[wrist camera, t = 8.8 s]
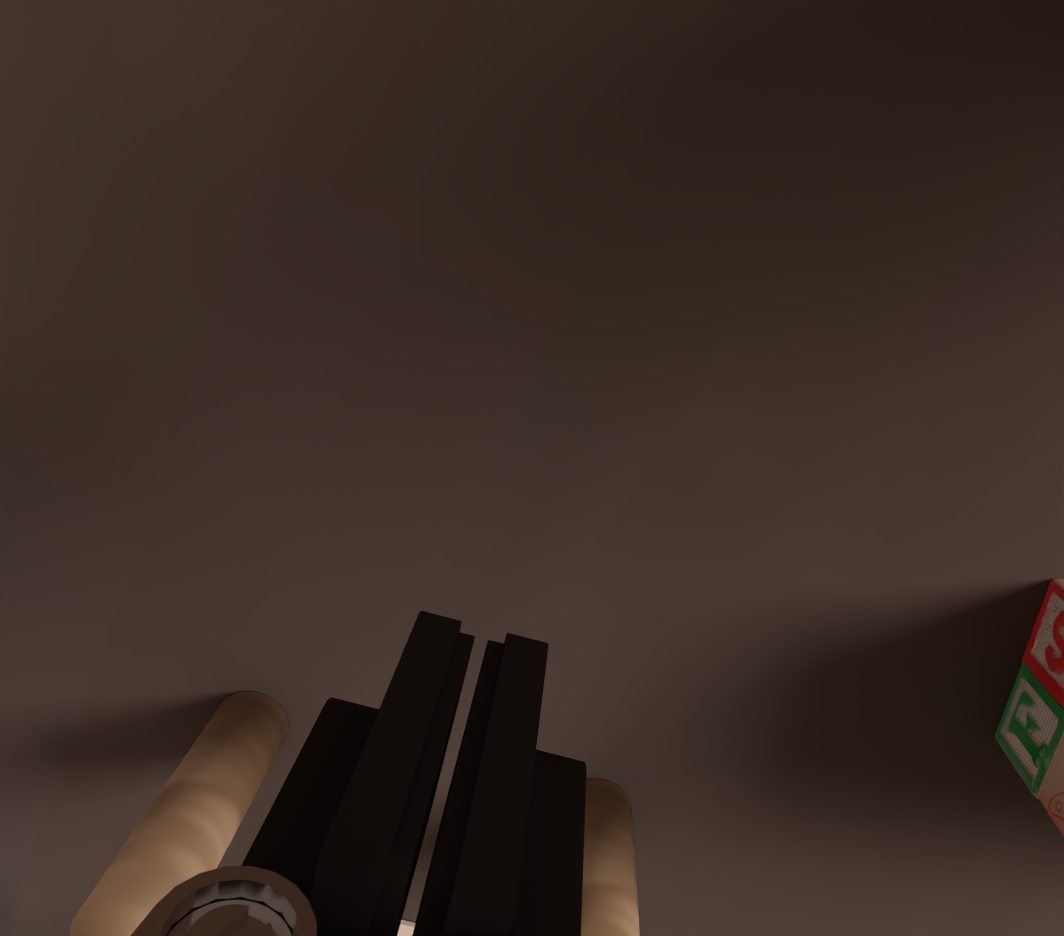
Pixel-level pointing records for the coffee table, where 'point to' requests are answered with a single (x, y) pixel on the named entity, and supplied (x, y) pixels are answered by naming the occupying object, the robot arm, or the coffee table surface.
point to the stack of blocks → (1040, 709)
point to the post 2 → (608, 863)
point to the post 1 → (189, 815)
